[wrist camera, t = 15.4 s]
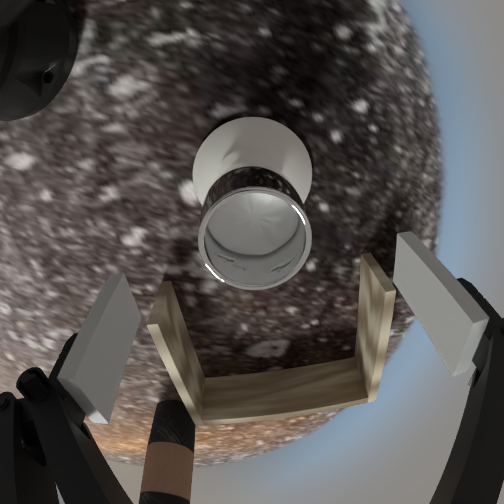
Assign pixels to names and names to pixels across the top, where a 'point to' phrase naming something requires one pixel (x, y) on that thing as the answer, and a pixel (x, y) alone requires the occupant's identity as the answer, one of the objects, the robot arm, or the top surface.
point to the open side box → (279, 381)
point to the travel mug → (169, 456)
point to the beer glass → (253, 223)
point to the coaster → (253, 135)
